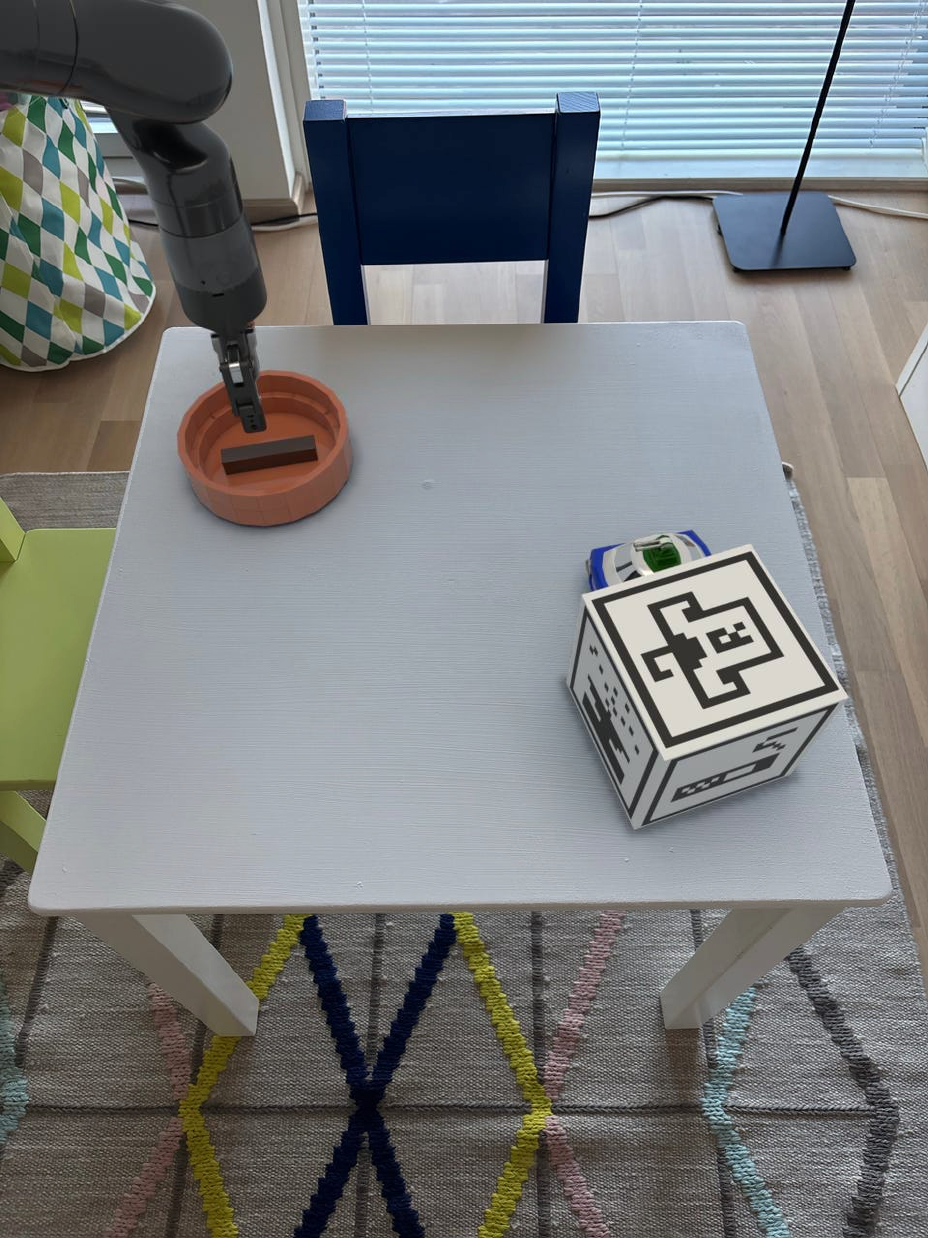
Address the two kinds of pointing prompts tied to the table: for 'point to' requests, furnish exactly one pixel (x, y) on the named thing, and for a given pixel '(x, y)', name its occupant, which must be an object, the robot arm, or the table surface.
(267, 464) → the stick
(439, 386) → the table surface
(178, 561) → the table surface
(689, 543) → the toy car
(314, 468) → the bowl
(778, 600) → the block
